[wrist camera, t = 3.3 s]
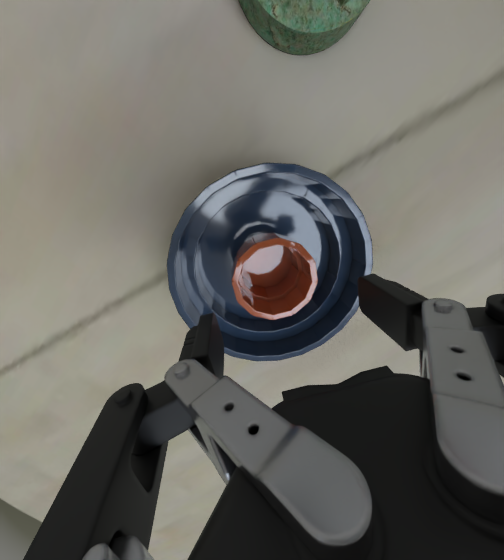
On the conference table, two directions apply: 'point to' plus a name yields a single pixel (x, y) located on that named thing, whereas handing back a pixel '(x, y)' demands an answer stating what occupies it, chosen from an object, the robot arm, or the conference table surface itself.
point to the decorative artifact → (302, 22)
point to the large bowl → (270, 219)
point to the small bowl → (273, 276)
